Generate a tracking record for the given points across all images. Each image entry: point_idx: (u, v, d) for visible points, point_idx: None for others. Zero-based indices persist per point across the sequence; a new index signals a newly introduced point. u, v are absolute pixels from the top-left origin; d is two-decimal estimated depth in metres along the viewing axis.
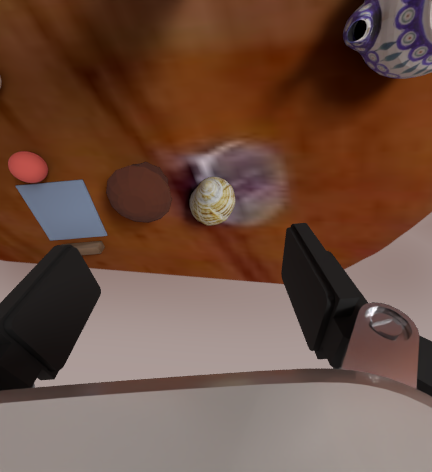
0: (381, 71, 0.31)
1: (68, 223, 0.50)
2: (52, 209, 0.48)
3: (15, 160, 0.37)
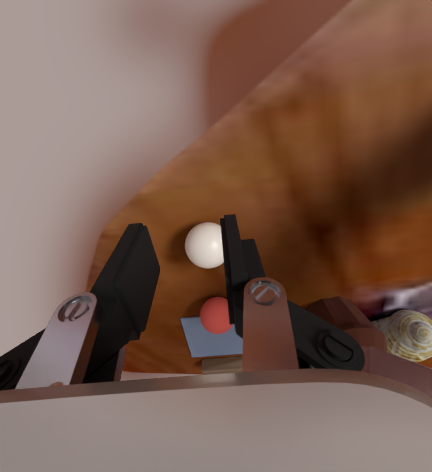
0: None
1: (220, 345, 0.45)
2: (209, 335, 0.42)
3: (217, 319, 0.32)
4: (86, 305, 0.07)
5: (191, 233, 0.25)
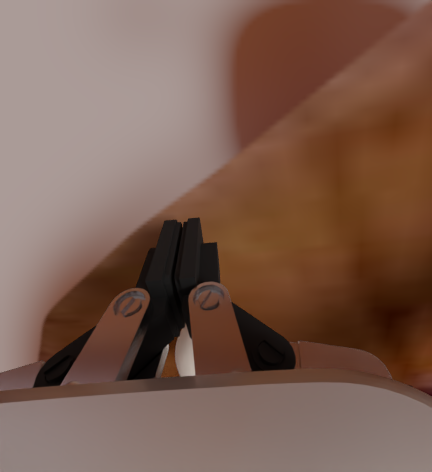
0: None
1: None
2: None
3: None
4: (139, 302, 0.07)
5: (186, 340, 0.14)
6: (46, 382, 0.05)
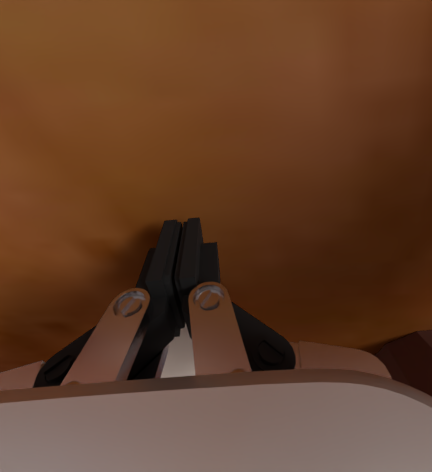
0: None
1: None
2: None
3: None
4: (139, 302, 0.07)
5: None
6: (46, 382, 0.05)
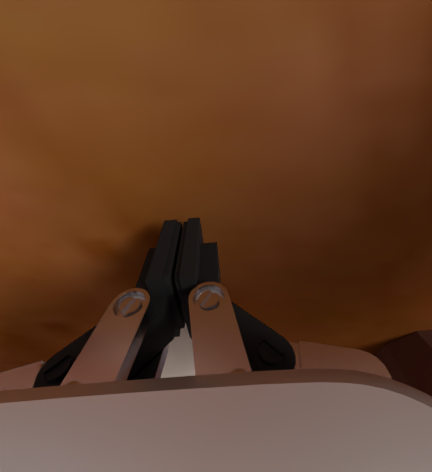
0: None
1: None
2: None
3: None
4: (139, 302, 0.07)
5: None
6: (46, 382, 0.05)
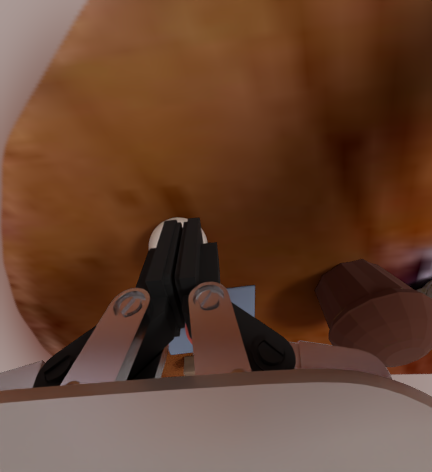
0: None
1: None
2: None
3: None
4: (139, 302, 0.07)
5: None
6: (46, 382, 0.05)
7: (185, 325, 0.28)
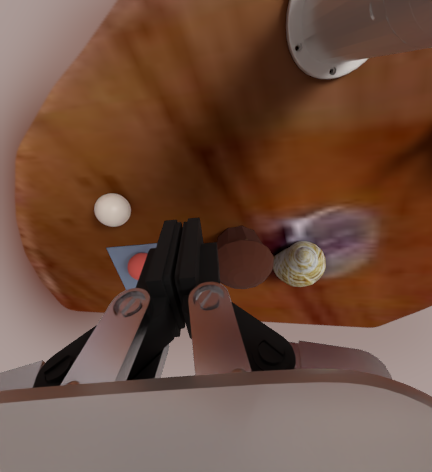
0: None
1: None
2: None
3: None
4: (139, 302, 0.07)
5: None
6: (46, 382, 0.05)
7: None
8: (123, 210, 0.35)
